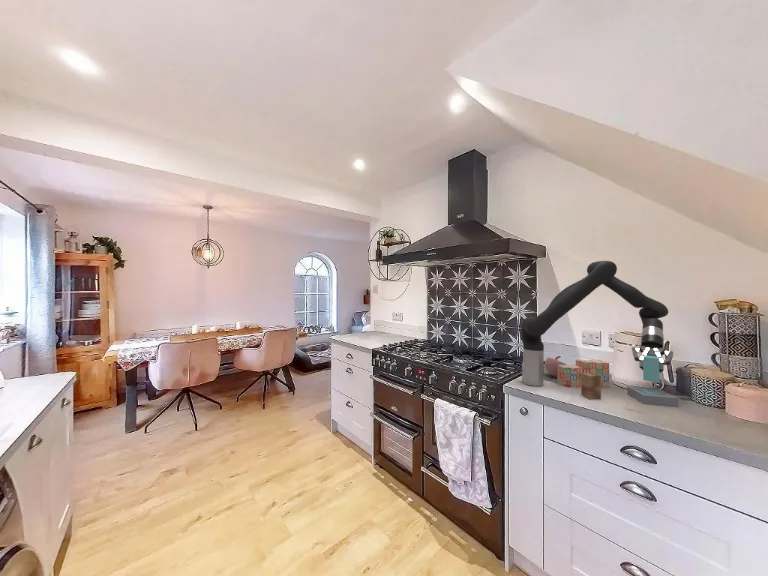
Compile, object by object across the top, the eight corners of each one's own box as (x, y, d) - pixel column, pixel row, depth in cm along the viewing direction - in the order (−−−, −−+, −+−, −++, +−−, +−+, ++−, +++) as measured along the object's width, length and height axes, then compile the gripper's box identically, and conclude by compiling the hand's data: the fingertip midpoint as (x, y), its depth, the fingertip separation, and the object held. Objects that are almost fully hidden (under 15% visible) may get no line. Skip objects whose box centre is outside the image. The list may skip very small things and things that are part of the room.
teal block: (643, 380, 127) (643, 356, 127) (644, 377, 130) (643, 355, 131) (659, 382, 123) (659, 358, 123) (659, 380, 127) (659, 356, 127)
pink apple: (575, 379, 156) (575, 357, 157) (557, 380, 153) (557, 358, 153) (557, 373, 168) (557, 353, 168) (539, 374, 165) (539, 353, 165)
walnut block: (589, 399, 127) (589, 375, 127) (581, 395, 132) (581, 372, 132) (600, 399, 127) (600, 376, 127) (592, 395, 132) (592, 372, 132)
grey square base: (643, 404, 122) (643, 394, 122) (627, 395, 134) (627, 385, 134) (678, 408, 119) (678, 397, 119) (658, 397, 131) (658, 388, 131)
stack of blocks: (563, 386, 144) (563, 361, 144) (556, 382, 151) (557, 358, 151) (609, 388, 143) (609, 362, 143) (600, 384, 149) (601, 359, 149)
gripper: (631, 331, 137) (628, 362, 129) (674, 335, 128) (675, 368, 119) (632, 341, 141) (630, 371, 132) (674, 345, 131) (674, 378, 122)
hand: (651, 370), depth 126 cm, fingers closed on teal block, 5 cm apart
